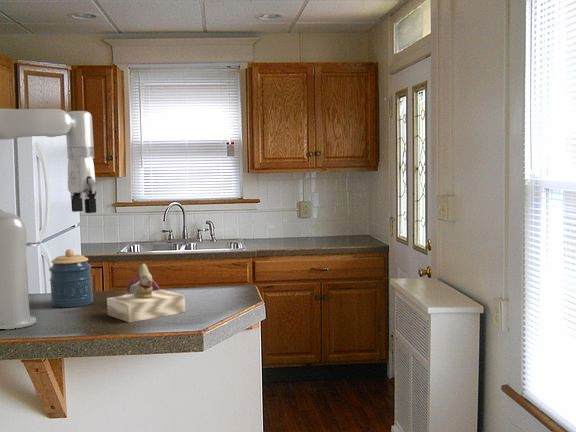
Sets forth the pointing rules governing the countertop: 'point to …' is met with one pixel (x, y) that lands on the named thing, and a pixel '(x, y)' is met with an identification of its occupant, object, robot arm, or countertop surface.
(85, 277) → the canister
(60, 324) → the countertop surface
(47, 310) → the countertop surface
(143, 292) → the chocolate bunny
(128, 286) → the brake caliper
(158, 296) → the birch riser
